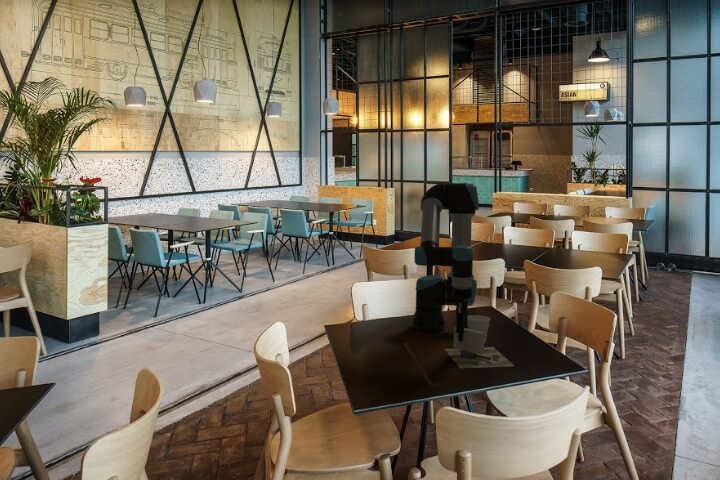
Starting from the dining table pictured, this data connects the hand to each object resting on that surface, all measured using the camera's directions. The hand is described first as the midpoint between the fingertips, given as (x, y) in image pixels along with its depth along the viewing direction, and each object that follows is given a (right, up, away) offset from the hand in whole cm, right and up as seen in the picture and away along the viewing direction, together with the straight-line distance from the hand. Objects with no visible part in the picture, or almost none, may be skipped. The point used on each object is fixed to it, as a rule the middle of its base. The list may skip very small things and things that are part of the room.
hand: (462, 347), depth 225 cm
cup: (+9, -2, +16) cm, 19 cm away
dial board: (+5, -4, -3) cm, 8 cm away
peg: (+3, -3, -3) cm, 5 cm away
